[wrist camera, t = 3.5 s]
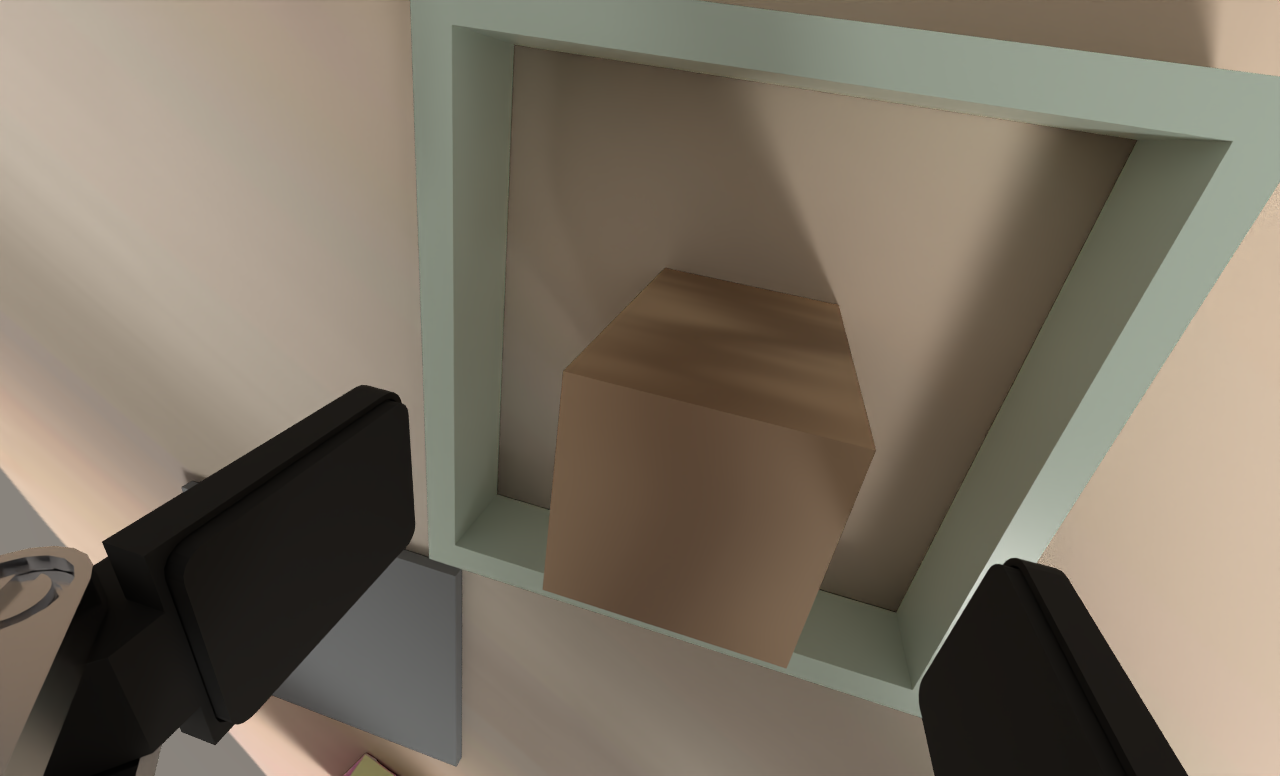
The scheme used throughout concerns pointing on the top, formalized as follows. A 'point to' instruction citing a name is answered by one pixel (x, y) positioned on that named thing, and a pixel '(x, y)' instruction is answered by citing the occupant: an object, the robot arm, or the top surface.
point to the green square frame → (873, 69)
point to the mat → (393, 660)
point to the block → (708, 463)
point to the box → (368, 768)
